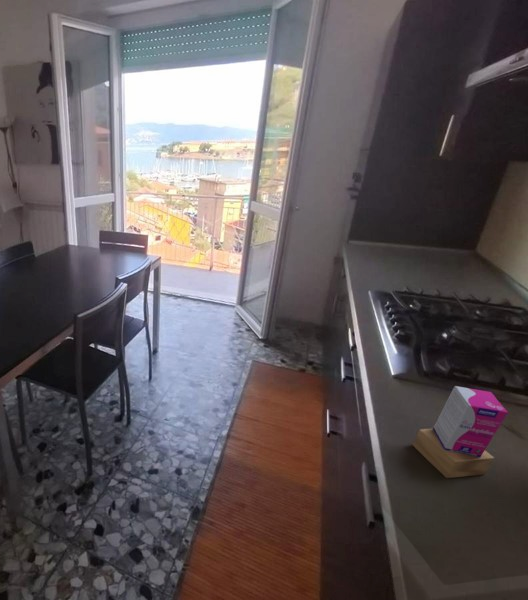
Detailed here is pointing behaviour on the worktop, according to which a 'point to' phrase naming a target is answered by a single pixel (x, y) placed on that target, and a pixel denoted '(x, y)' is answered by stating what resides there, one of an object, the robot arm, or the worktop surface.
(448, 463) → the maple block
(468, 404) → the supplement box
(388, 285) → the worktop surface
